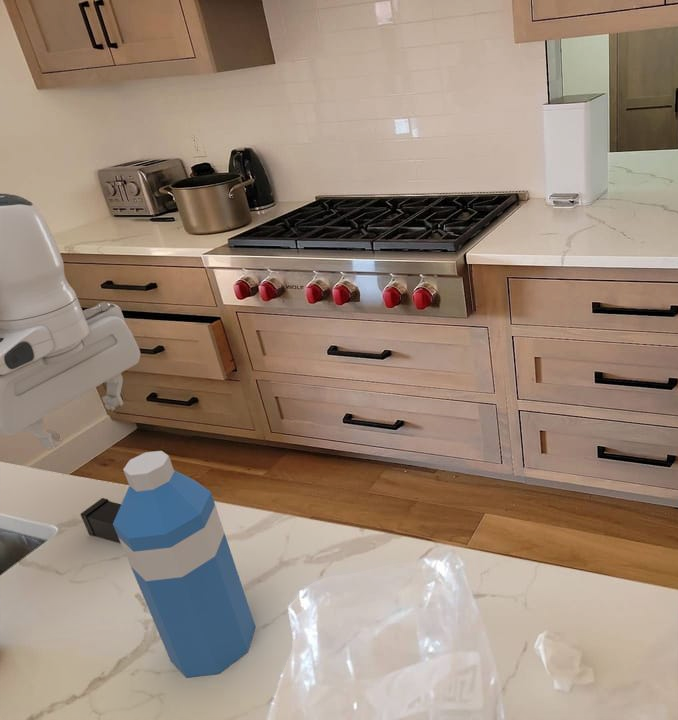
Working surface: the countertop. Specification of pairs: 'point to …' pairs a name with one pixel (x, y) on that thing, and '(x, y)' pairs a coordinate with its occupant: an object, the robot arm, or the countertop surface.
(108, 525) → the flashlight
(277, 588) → the countertop surface
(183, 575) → the water bottle
